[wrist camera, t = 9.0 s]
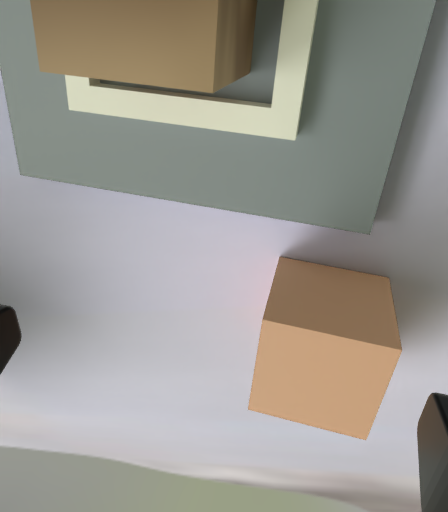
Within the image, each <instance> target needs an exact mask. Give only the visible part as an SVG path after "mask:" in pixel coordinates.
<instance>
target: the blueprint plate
mask: <svg viewBox="0 0 448 512" xmlns="http://www.w3.org/2000/svg"><path fill="white" fill-rule="evenodd" d="M435 3H436V0H257V9H256V19H255V29H254V39H253V49H252V59H251V69H250V73H249V74H248V75H246V76H244V77H242V78H240V79H238V80H236V81H235V82H233V83H231V84H229V85H227V86H225V87H223V88H222V89H220V90H218V91H216V92H214V93H207V92H199V91H191V90H183V89H175V88H167V87H159V86H151V85H143V84H135V83H127V82H119V81H111V80H103V79H95V78H87V77H79V76H71V75H63V74H55V73H47V72H40V69H39V62H38V55H37V47H36V40H35V33H34V26H33V19H32V11H31V4H30V0H0V68H1V74H2V79H3V84H4V90H5V95H6V100H7V106H8V111H9V117H10V122H11V127H12V133H13V138H14V143H15V149H16V154H17V160H18V165H19V170H20V175H24V176H29V177H35V178H41V179H47V180H53V181H59V182H65V183H70V184H76V185H82V186H88V187H94V188H100V189H106V190H112V191H117V192H123V193H129V194H135V195H141V196H147V197H153V198H158V199H164V200H170V201H176V202H182V203H188V204H194V205H199V206H205V207H211V208H217V209H223V210H229V211H235V212H241V213H246V214H252V215H258V216H264V217H270V218H276V219H282V220H287V221H293V222H299V223H305V224H311V225H317V226H323V227H328V228H334V229H340V230H346V231H352V232H358V233H364V234H369V235H370V232H371V229H372V225H373V222H374V218H375V215H376V211H377V208H378V204H379V201H380V197H381V194H382V190H383V187H384V183H385V180H386V176H387V173H388V169H389V165H390V162H391V158H392V155H393V151H394V148H395V144H396V141H397V137H398V134H399V130H400V127H401V123H402V120H403V116H404V113H405V109H406V105H407V102H408V98H409V95H410V91H411V88H412V84H413V81H414V77H415V74H416V70H417V67H418V63H419V60H420V56H421V53H422V49H423V45H424V42H425V38H426V35H427V31H428V28H429V24H430V21H431V17H432V14H433V10H434V7H435Z"/></svg>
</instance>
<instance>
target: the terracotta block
mask: <svg viewBox="0 0 448 512" xmlns="http://www.w3.org/2000/svg"><path fill="white" fill-rule="evenodd" d="M401 352H402V347H401V342H400V336H399V330H398V325H397V319H396V314H395V308H394V303H393V297H392V292H391V286H390V281H389V278H388V277H383V276H377V275H372V274H367V273H362V272H357V271H352V270H346V269H341V268H336V267H331V266H326V265H320V264H315V263H310V262H305V261H300V260H295V259H289V258H284V257H279V261H278V265H277V268H276V272H275V276H274V279H273V283H272V287H271V290H270V294H269V298H268V301H267V305H266V309H265V312H264V316H263V320H262V326H261V332H260V338H259V344H258V351H257V357H256V363H255V369H254V375H253V382H252V388H251V394H250V400H249V406H248V410H252V411H256V412H260V413H263V414H267V415H271V416H275V417H279V418H283V419H286V420H290V421H294V422H298V423H302V424H306V425H310V426H313V427H317V428H321V429H325V430H329V431H333V432H336V433H340V434H344V435H348V436H352V437H356V438H359V439H363V440H366V439H367V437H368V434H369V432H370V429H371V427H372V424H373V422H374V419H375V417H376V414H377V412H378V409H379V407H380V404H381V402H382V399H383V397H384V394H385V392H386V389H387V387H388V384H389V382H390V379H391V377H392V374H393V372H394V369H395V367H396V364H397V362H398V359H399V357H400V354H401Z"/></svg>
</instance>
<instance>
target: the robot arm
mask: <svg viewBox="0 0 448 512" xmlns="http://www.w3.org/2000/svg"><path fill="white" fill-rule="evenodd" d="M20 341H21V330H20V327H19V323H18V319H17V315H16V312H15V310H14V309H13V307H11V306H6V305H1V304H0V374H1V373H2V371H3V370H4V368H5V366H6V365H7V363H8V362H9V360H10V358H11V357H12V355H13V354H14V352H15V350H16V349H17V347H18V346H19V344H20ZM417 438H418V457H419V475H420V494H421V509H422V512H448V395H445V394H440V393H432V394H430V396H429V397H428V399H427V402H426V404H425V407H424V409H423V412H422V414H421V416H420V419H419V422H418V427H417Z"/></svg>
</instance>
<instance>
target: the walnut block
mask: <svg viewBox="0 0 448 512" xmlns="http://www.w3.org/2000/svg"><path fill="white" fill-rule="evenodd" d="M30 4H31V11H32V19H33V26H34V33H35V40H36V47H37V55H38V62H39V69H40V72H47V73H55V74H63V75H71V76H79V77H87V78H95V79H103V80H111V81H119V82H127V83H135V84H143V85H151V86H159V87H167V88H175V89H183V90H191V91H199V92H207V93H214V92H216V91H218V90H220V89H222V88H223V87H225V86H227V85H229V84H231V83H233V82H235V81H236V80H238V79H240V78H242V77H244V76H246V75H248V74H249V73H250V69H251V59H252V49H253V39H254V29H255V19H256V9H257V0H30Z"/></svg>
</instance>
